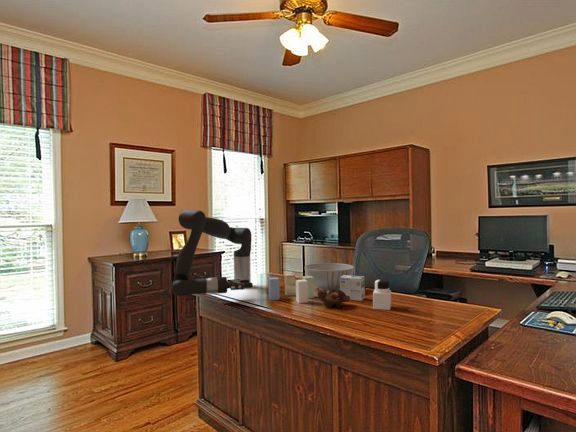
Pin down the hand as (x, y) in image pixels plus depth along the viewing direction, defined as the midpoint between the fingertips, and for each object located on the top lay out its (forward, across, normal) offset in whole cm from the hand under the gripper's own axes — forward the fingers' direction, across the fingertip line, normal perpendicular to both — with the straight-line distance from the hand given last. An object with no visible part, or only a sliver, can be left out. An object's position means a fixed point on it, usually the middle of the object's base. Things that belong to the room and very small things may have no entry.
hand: (250, 283), depth 177 cm
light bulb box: (+47, -12, +8) cm, 49 cm away
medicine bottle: (+52, -31, +8) cm, 61 cm away
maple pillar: (+21, +6, +8) cm, 24 cm away
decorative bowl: (+45, +12, +8) cm, 48 cm away
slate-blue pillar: (+11, 0, +8) cm, 14 cm away
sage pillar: (+28, -2, +8) cm, 30 cm away
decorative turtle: (+33, -22, +8) cm, 41 cm away
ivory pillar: (+22, -10, +8) cm, 26 cm away
